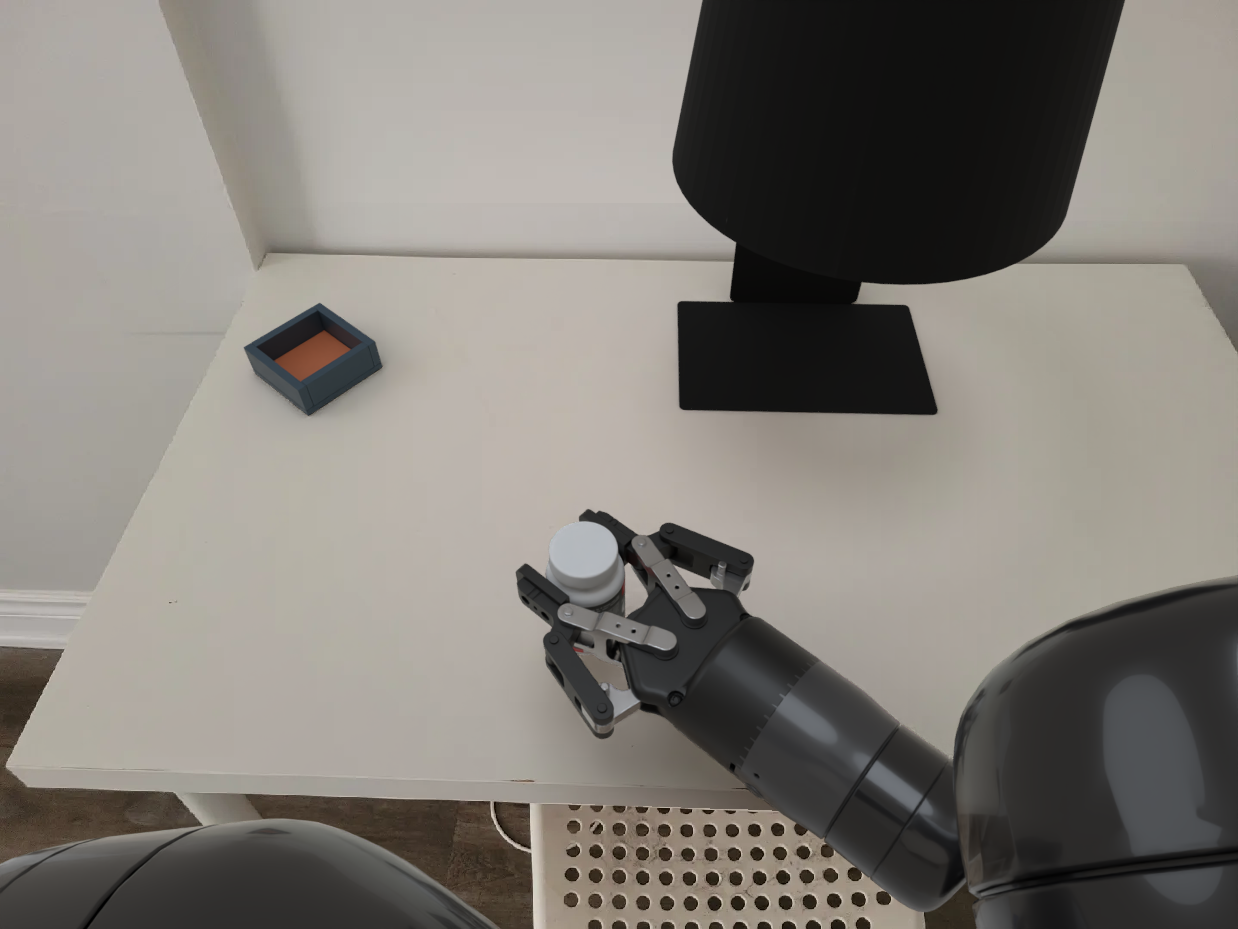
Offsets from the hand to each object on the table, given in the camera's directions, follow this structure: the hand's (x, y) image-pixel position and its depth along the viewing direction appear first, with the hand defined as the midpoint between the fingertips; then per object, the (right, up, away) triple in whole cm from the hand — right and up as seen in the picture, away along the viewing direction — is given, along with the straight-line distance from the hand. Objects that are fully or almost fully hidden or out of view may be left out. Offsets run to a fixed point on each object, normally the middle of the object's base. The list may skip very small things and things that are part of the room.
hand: (553, 548), depth 53 cm
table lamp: (+20, +11, +24) cm, 33 cm away
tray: (-23, +14, +26) cm, 37 cm away
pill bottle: (+2, -5, +4) cm, 7 cm away
